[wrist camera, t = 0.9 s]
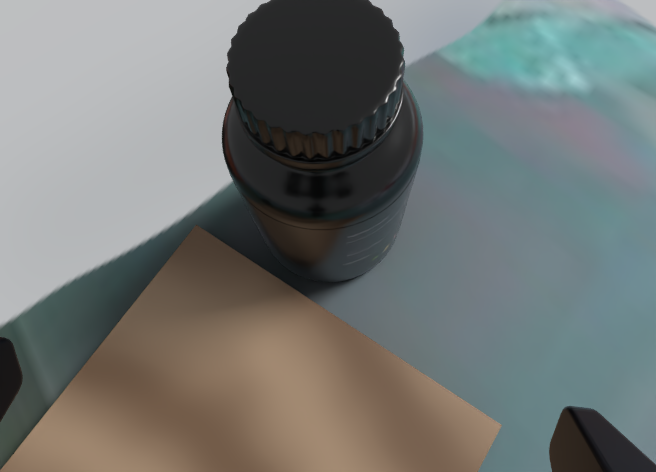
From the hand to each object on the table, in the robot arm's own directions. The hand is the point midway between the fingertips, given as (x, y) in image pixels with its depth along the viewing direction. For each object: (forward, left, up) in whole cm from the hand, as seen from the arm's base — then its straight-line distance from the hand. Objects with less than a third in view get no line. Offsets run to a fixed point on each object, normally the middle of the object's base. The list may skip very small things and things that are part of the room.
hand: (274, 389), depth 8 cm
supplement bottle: (+7, +4, -14) cm, 17 cm away
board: (-5, +1, -14) cm, 15 cm away
